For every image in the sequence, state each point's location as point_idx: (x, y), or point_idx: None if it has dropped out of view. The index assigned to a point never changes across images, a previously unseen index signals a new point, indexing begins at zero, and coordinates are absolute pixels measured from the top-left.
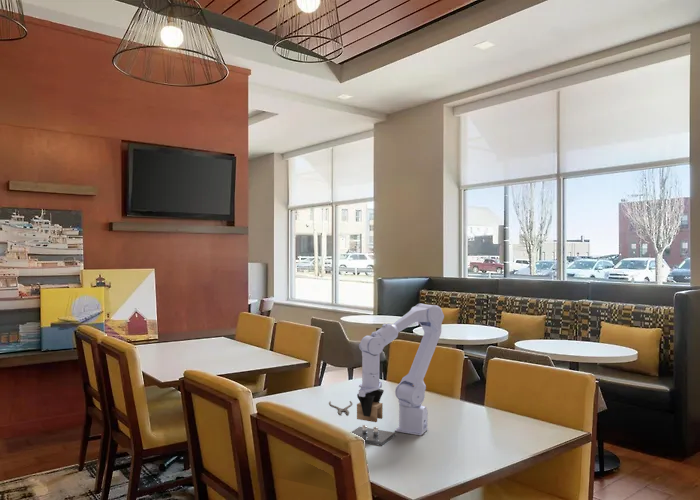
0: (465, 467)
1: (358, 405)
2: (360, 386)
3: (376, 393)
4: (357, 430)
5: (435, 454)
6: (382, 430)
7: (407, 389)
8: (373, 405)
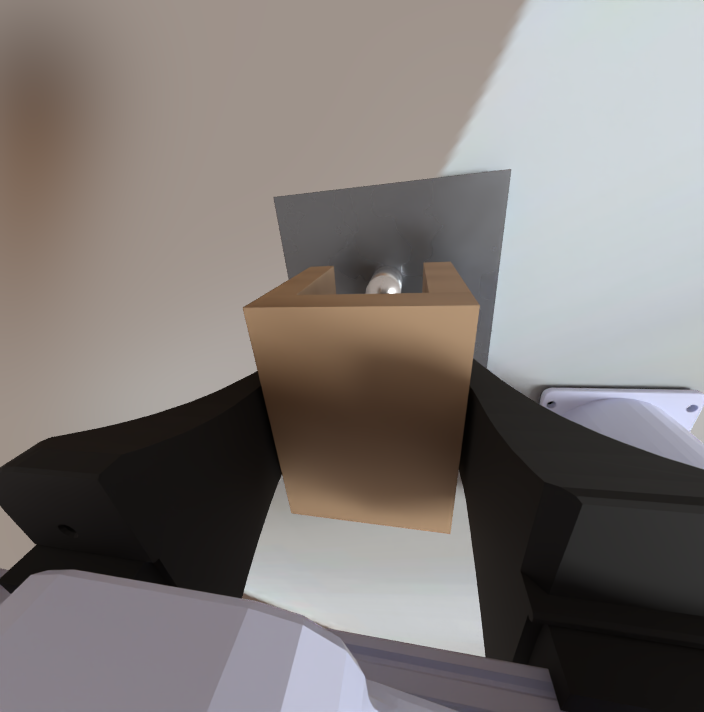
0: (310, 594)
1: (258, 324)
2: (20, 676)
3: (491, 610)
4: (415, 207)
5: (349, 545)
6: (487, 349)
7: None
8: (314, 486)
